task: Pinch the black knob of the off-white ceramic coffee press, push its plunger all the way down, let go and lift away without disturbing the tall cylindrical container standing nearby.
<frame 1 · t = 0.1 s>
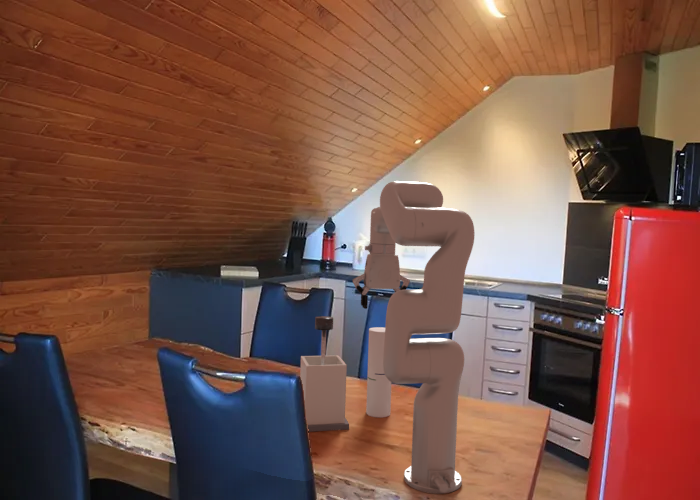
hand: (380, 307, 166), 31 cm above the table, fingers open, 9 cm apart
plunger: (323, 356, 157), point 19 cm above the table, slide at 6.0 cm
cylindrical container: (378, 413, 167), on the table
press carafe: (321, 422, 158), on the table
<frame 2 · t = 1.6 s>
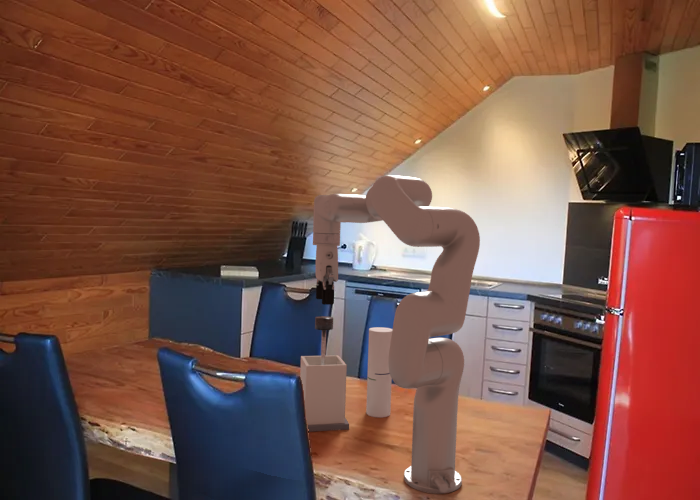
hand: (324, 301, 156), 34 cm above the table, fingers open, 9 cm apart
nothing on the table moved.
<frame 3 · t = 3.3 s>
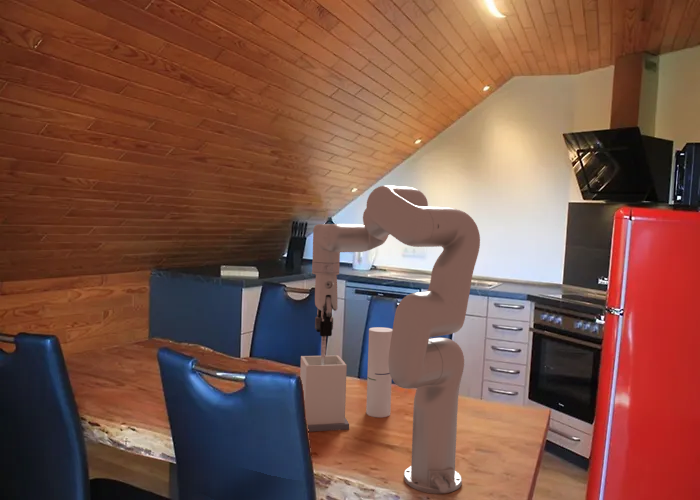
hand: (323, 333, 157), 25 cm above the table, fingers closed on plunger, 5 cm apart
plunger: (323, 356, 157), point 19 cm above the table, slide at 6.0 cm, touching gripper
everything else where it was.
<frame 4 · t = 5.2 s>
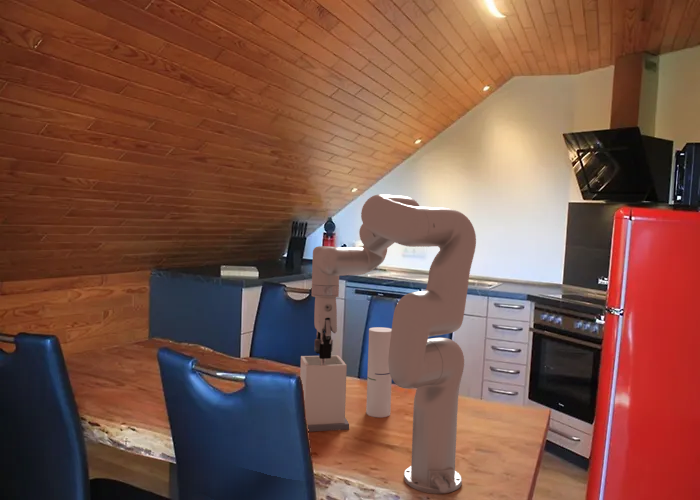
hand: (323, 355, 157), 19 cm above the table, fingers closed on plunger, 5 cm apart
plunger: (322, 378, 157), point 13 cm above the table, slide at -0.2 cm, touching gripper
everything else where it was.
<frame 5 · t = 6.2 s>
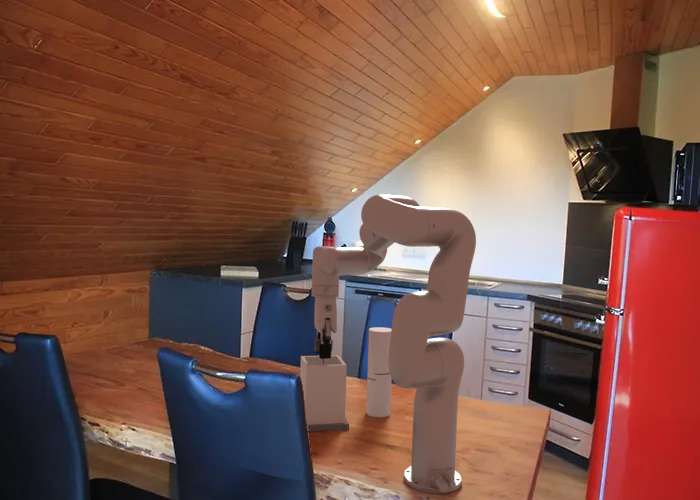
hand: (323, 355, 157), 19 cm above the table, fingers closed on plunger, 4 cm apart
plunger: (322, 378, 157), point 13 cm above the table, slide at -0.2 cm, touching gripper
everything else where it was.
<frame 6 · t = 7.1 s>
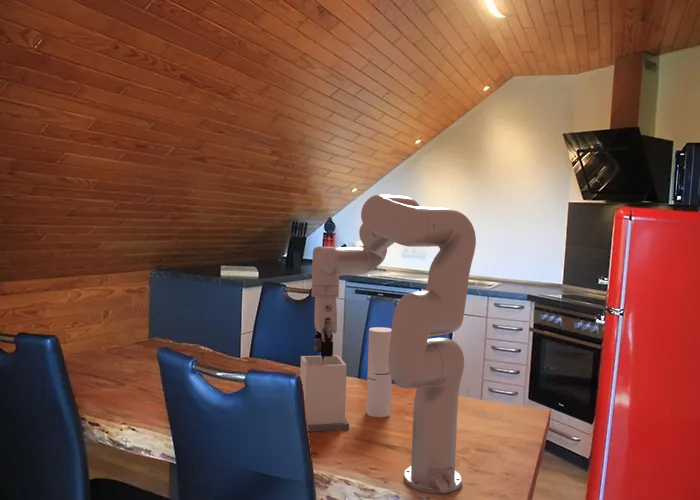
hand: (323, 352, 157), 20 cm above the table, fingers open, 9 cm apart
plunger: (322, 377, 157), point 13 cm above the table, slide at -0.1 cm
everything else where it was.
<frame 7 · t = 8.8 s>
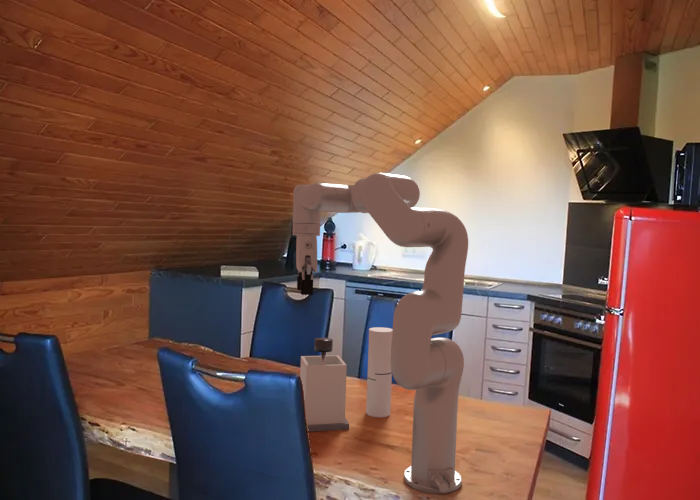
hand: (304, 292, 155), 37 cm above the table, fingers open, 9 cm apart
nothing on the table moved.
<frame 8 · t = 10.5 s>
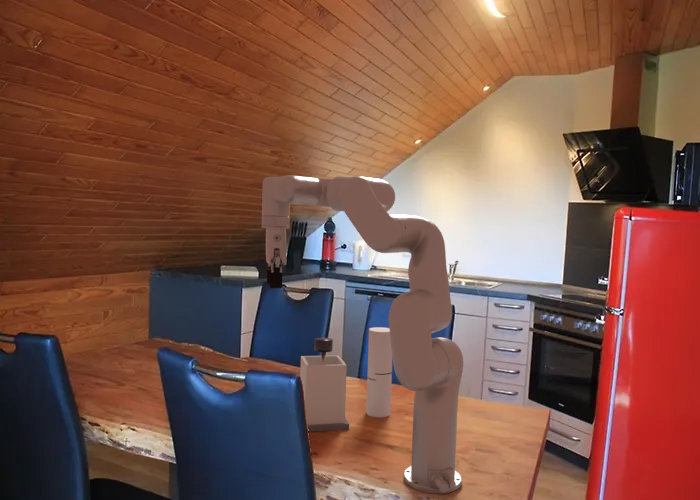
hand: (274, 285, 154), 38 cm above the table, fingers open, 9 cm apart
nothing on the table moved.
at the end: plunger slide at -0.1 cm; the gripper is holding nothing; cylindrical container tilted 0° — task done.
